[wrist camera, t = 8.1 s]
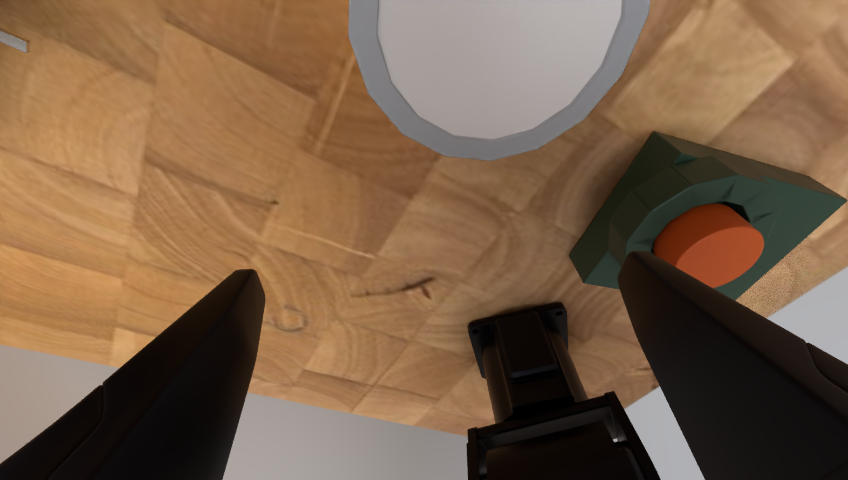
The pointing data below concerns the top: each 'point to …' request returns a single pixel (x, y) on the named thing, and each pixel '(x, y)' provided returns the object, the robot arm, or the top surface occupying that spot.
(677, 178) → the button base
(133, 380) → the robot arm
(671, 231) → the button
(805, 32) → the top surface
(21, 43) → the tap plate
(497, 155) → the white cup
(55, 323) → the top surface
